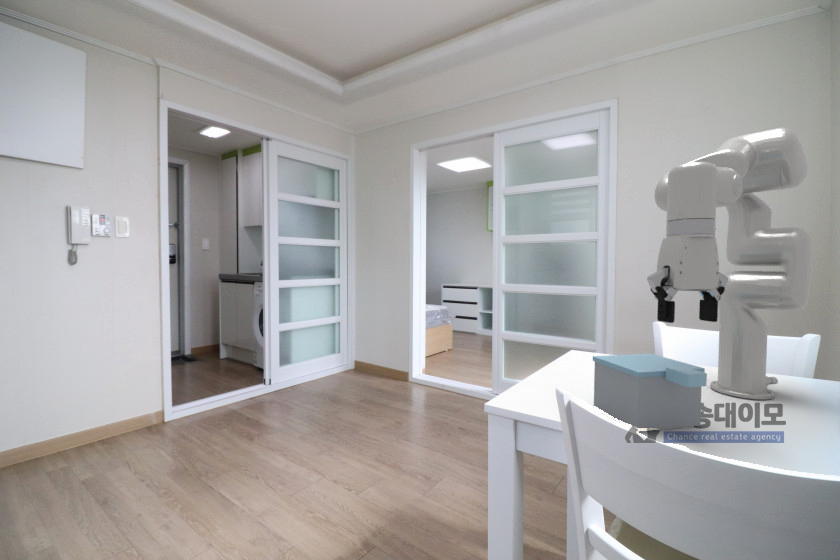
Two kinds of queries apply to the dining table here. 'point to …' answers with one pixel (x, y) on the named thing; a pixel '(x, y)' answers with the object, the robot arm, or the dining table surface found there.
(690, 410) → the cubby
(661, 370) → the lid
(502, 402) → the dining table surface
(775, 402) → the dining table surface
